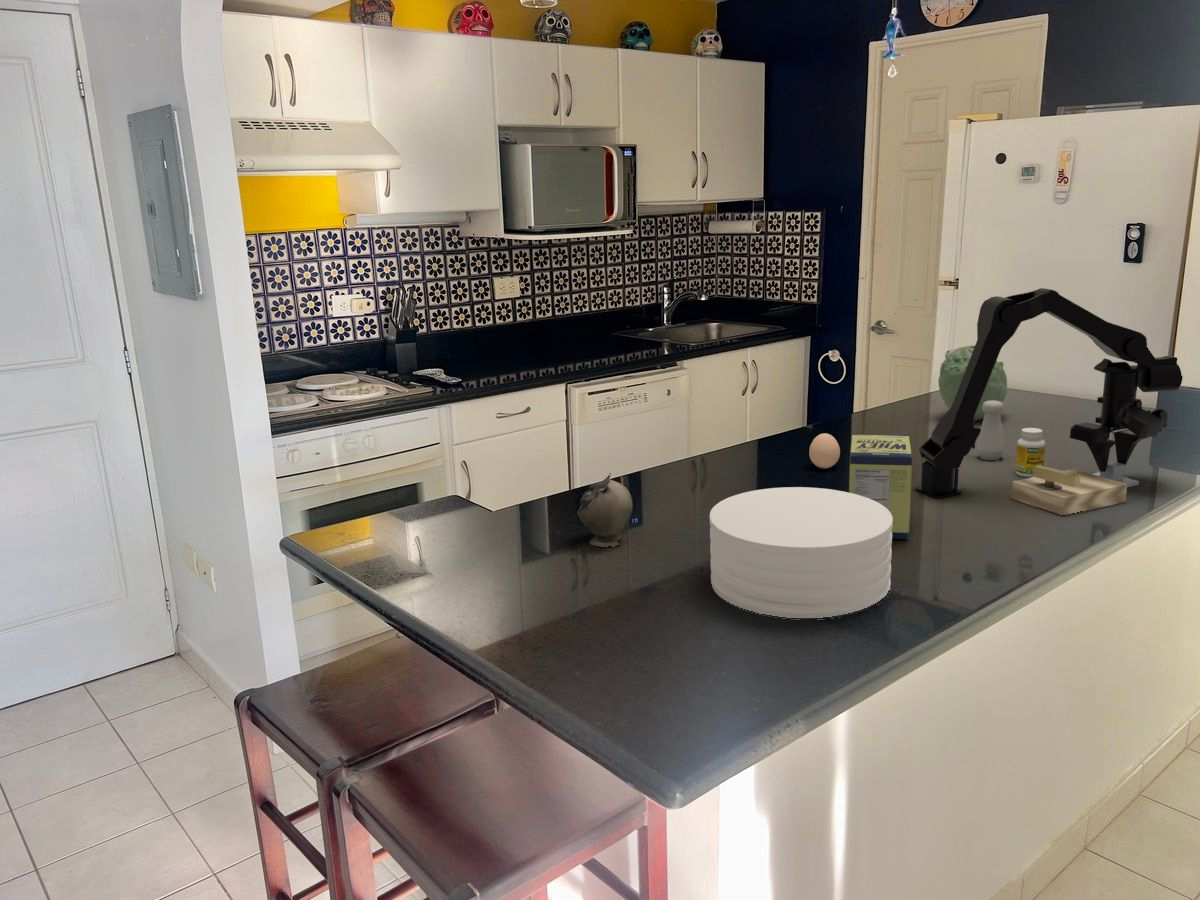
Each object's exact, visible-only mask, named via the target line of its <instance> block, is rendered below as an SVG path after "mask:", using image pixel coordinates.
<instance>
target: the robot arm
mask: <svg viewBox="0 0 1200 900" xmlns="http://www.w3.org/2000/svg"><path fill="white" fill-rule="evenodd" d="M1045 313H1047V314H1049V315H1050V316H1052V317H1053V318H1055V319H1057V320H1059V321H1060V322H1062V323H1064V324H1066V325H1068V326H1070V328H1073V329H1074V330H1077V331H1078V332H1080V333H1082V334H1084V335H1085V336H1087V337H1088V338H1089V339H1091V340H1092V341H1093V343H1094V344H1095V346H1097V347H1098V348H1099V349H1100V350H1101V351H1102V352H1103V353H1105V354H1106V355H1108V356H1110V357H1112V358H1116V359H1120V360H1123V361H1112V360H1111V359H1108V358H1103V359H1102V360H1101V361H1100V362H1099V363H1097V364H1096V365H1095V366H1094V367H1093V369H1094V370H1095V371H1097V372H1101V373H1103V374H1104V380H1103V381H1104V382H1103V390H1102V391H1103V392H1102V396H1099V397H1097V399H1096V400H1097V403H1098V404H1101V410H1100V411H1101V412H1100V416H1097V417H1095V423H1092V422H1081V423H1077V424H1074V425H1072V426H1071V427H1070V429H1069V430H1070V431H1069V439H1073V440H1076V441H1081V442H1085V444H1086V445H1087V447H1088V449H1089V450H1090V452H1091V454H1092V457H1093V459H1094V461H1095V464H1096V466H1097V468H1098V470H1099V472H1100V471H1101V472H1105V471H1106V468H1107V464H1108V462H1109V458H1110V452H1111V448H1112V447H1113V446H1114V447H1115V453H1116V462H1118V463H1121V464H1125V467H1126V465H1127V464H1128V461H1129V459H1130V458H1131V455H1132V453H1133V451H1134V450H1135V449H1136V446H1137V445H1138V443H1139V442H1142V440H1144V439H1148V438H1151V437H1155V438H1156V437H1157V436H1158V435H1159V433H1160V432H1162V430H1163V429H1165V428H1167V427H1168V425H1167V424H1168V423H1167V422H1168V411H1167V410H1164V409H1163V408H1158V409H1154V410H1152V411H1151V410H1150V409H1149V410H1147V409H1143V401H1142V399H1140V398H1137V393H1138V392H1137V390H1138V389H1139V390H1140V391H1141V392H1143V393H1153V392H1154V393H1156V392H1157V393H1160V392H1175V391H1178V390H1179V388H1180V387H1181V386H1182V383H1183V377H1184V376H1183V374H1182V371H1181V366H1180V365H1179V364H1178V357H1177V356H1172V355H1164V356H1161V357H1155V356H1154V355H1153V353H1152V352H1151V350H1150V349H1149V347H1148V341H1147V340H1148V338H1147V337H1146V336H1145V334H1143V333H1142V332H1140V331H1138V330H1133V329H1130V328H1128V327H1125V326H1121V325H1118V324H1115V323H1112V322H1109V321H1106V320H1105V319H1103V318H1101V317H1099V316H1098V315H1096V314H1095V313H1092V312H1091V311H1089V310H1087V309H1085V308H1084V307H1082V306H1080V305H1079V304H1077V303H1075V302H1073V301H1071V300H1070V299H1068V298H1066V297H1064V296H1063V295H1061V294H1060V293H1059V292H1058V291H1057V290H1054V289H1051V288H1050V289H1049V288H1045V287H1043V288H1041V287H1040V288H1038V289H1035V290H1032V291H1031V290H1030V291H1028V292H1024V293H1019V294H1018V293H1017V294H1014V295H1013V294H1012V295H1008V296H1005V297H1004V296H1003V297H1002V296H991V297H989V298H987V299H986V300H984V301H983V302H982V304H981V306H980V309H979V314H978V319H977V323H976V327H977V329H976V330H977V331H976V333H977V334H976V335H977V337H976V338H977V340H976V342H975V344H974V345H975V347H974V350H973V353H972V355H971V358H970V360H969V363H968V365H967V368H966V371H965V373H964V376H963V378H962V381H961V383H960V386H959V389H958V391H957V394H956V396H955V399H954V401H953V404H952V406H951V408H950V410H949V409H948V411H947V412H946V413H945V414H944V415H943V416H942V417H941V418H940V419H939V421H938V422H937V424H936V425H935V427H934V429H933V431H932V432H931V436H930V437H929V438H928V439H927V440H926V441H925V442H924V443H923V444H922V445H921V446H920V447H919V448H918V451H919V454H920V456H921V458H922V459H924V460H925V461H924V462H922V464H921V482H920V483H921V486H918V487H915V491H917V492H920V493H922V494H924V495H927V496H930V497H933V498H935V499H941V498H945V497H950V496H956V495H960V494H963V491H962V490H961V489H959V488H958V487H959V468H960V467H961V465H962V462H963V460H964V457H967V456H968V454H969V453H970V452H971V450H972V449H974V450H975V448H976V441H977V440H978V438H979V436H980V432H981V428H980V427H979V426H976V425H975V421H974V417H975V413H976V411H977V408H978V406H979V403H980V401H981V398H982V396H983V393H984V391H985V388H986V386H987V383H988V381H989V378H990V376H991V373H992V371H993V368H994V366H995V363H996V360H998V357H999V355H1000V353H1001V351H1002V348H1003V347H1004V346H1005V345H1006V344H1007V342H1009V340H1010V339H1011V338H1012V337H1013V336H1014V335H1015V333H1016V332H1017V331H1018V328H1019V327H1020V325H1021V324H1022V322H1027V321H1029V320H1032V319H1034V318H1036V317H1038V316H1040V315H1042V314H1045ZM1126 361H1127V362H1126ZM1128 362H1132V363H1134V364H1136V365H1130V364H1129V363H1128ZM1096 423H1097V424H1096ZM1112 437H1114V440H1112Z"/></svg>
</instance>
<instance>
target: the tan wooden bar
mask: <svg viewBox="0 0 1200 900" xmlns="http://www.w3.org/2000/svg"><path fill="white" fill-rule="evenodd" d="M1065 471H1066V470H1062V469H1056V468H1053V467H1050V466H1049V467H1048V466H1045V465H1044V466H1041V465H1038V466H1034V472H1033V477H1037V478H1040V479H1044V480H1045V486H1047V487H1054V482H1056V483H1060V484H1064V485H1067V486H1071V487H1077V486H1080V476H1081V475H1078V474H1074V473H1069V472H1065Z"/></svg>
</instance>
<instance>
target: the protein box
mask: <svg viewBox="0 0 1200 900" xmlns="http://www.w3.org/2000/svg"><path fill="white" fill-rule="evenodd" d="M912 467H913V455H912V449H911V442H910V435H909V434H892V433H891V434H890V433H889V434H888V433H887V434H885V433H881V434H879V433H852V434H851V445H850V457H849V493H853V494H857V495H860V496H863V497H866V498H869V499H871V500H874V501H876V502H878V503H880V504H881V505H883V506H884V507H886V508H887V509H888V510H889V511H890V513H891V514H892V517H893V527H892V539H909V540H910V523H911V522H910V521H911V520H910V519H911V496H912V495H911V494H912V493H911V491H912V471H913V469H912Z"/></svg>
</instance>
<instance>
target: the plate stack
mask: <svg viewBox="0 0 1200 900" xmlns="http://www.w3.org/2000/svg"><path fill="white" fill-rule="evenodd" d="M709 525H710V528H709V540H710V545H709V547H710V549H709V552H710V571H711V572H710V584H712V585H711V587H712V590H713V591H714V592H715V594H716V595H717V596H719V597H720V598H721V599H722V598H723V599H722V600H723V601H725V600H726V601H725V602H727V603H728V602H729V603H728V604H730V605H732V604H733V605H732V606H734V605H735V607H736V606H738V607H737V608H739V607H740V608H739V609H741V608H743V609H742V610H744V609H746V610H745V611H747V610H749V611H748V612H750V611H753V612H756V613H755V614H757V613H759V614H758V615H761V614H766V615H772V616H778V617H786V618H823V617H832V616H837V615H838V616H839V615H843V614H848V613H852V612H855V611H859V610H862V609H864V608H867V607H869V606H871V605H873V604H875V603H877V602H878V601H880V600H881V599H882V598H884V597H885V596H886V595H887V593H888V591H889V590H890V591H891V587H890V586H891V585H892V584H891V583H892V582H891V581H892V580H891V575H892V562H891V561H892V544H893V540H892V527H893V517H892V514H891V513H890V511H889V510H888V509H887V508H886V507H884V506H883V505H881V504H880V503H878V502H876V501H874V500H871V499H869V498H866V497H863V496H860V495H857V494H853V493H850V492H847V491H842V490H836V489H831V488H820V487H809V486H807V487H806V486H805V487H803V486H796V487H795V486H792V487H791V486H790V487H789V486H787V487H770V488H764V489H763V488H761V489H756V490H750V491H746V492H742V493H738V494H735V495H732V496H729V497H727V498H725V499H722V500H721V501H719V502H717V504H715V505H714V506H713V507H712V508H711V510H710V512H709ZM753 612H752V613H753ZM766 615H765V616H766ZM786 618H785V619H786Z"/></svg>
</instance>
